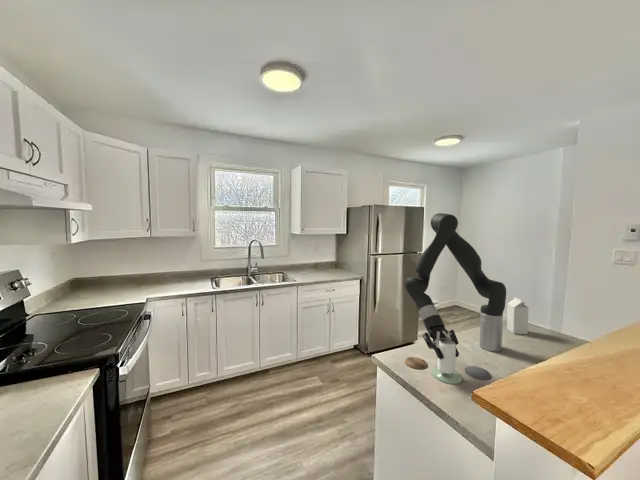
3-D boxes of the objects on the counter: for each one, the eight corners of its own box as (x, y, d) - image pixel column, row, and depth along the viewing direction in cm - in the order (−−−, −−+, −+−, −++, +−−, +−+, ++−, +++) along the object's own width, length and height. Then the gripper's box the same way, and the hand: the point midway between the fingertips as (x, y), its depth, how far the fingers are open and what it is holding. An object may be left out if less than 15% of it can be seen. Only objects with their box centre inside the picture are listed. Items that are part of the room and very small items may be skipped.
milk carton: (513, 334, 149) (514, 300, 148) (506, 329, 156) (507, 296, 155) (527, 334, 148) (528, 300, 147) (520, 329, 155) (521, 297, 154)
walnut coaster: (413, 357, 124) (413, 355, 124) (431, 365, 117) (431, 363, 117) (400, 362, 119) (400, 360, 119) (417, 372, 112) (417, 369, 112)
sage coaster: (443, 367, 116) (443, 364, 116) (468, 379, 106) (468, 377, 106) (425, 373, 111) (425, 371, 111) (449, 387, 101) (449, 385, 101)
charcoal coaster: (471, 366, 116) (471, 363, 116) (494, 375, 109) (494, 373, 109) (460, 372, 111) (460, 370, 111) (483, 383, 104) (483, 380, 104)
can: (457, 375, 104) (458, 345, 104) (439, 373, 106) (440, 343, 105) (452, 366, 111) (453, 338, 110) (435, 365, 112) (436, 336, 111)
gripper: (420, 315, 113) (438, 356, 102) (449, 312, 116) (470, 352, 105) (412, 323, 118) (429, 363, 107) (441, 320, 121) (459, 358, 111)
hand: (449, 357), depth 106 cm, fingers closed on can, 6 cm apart
